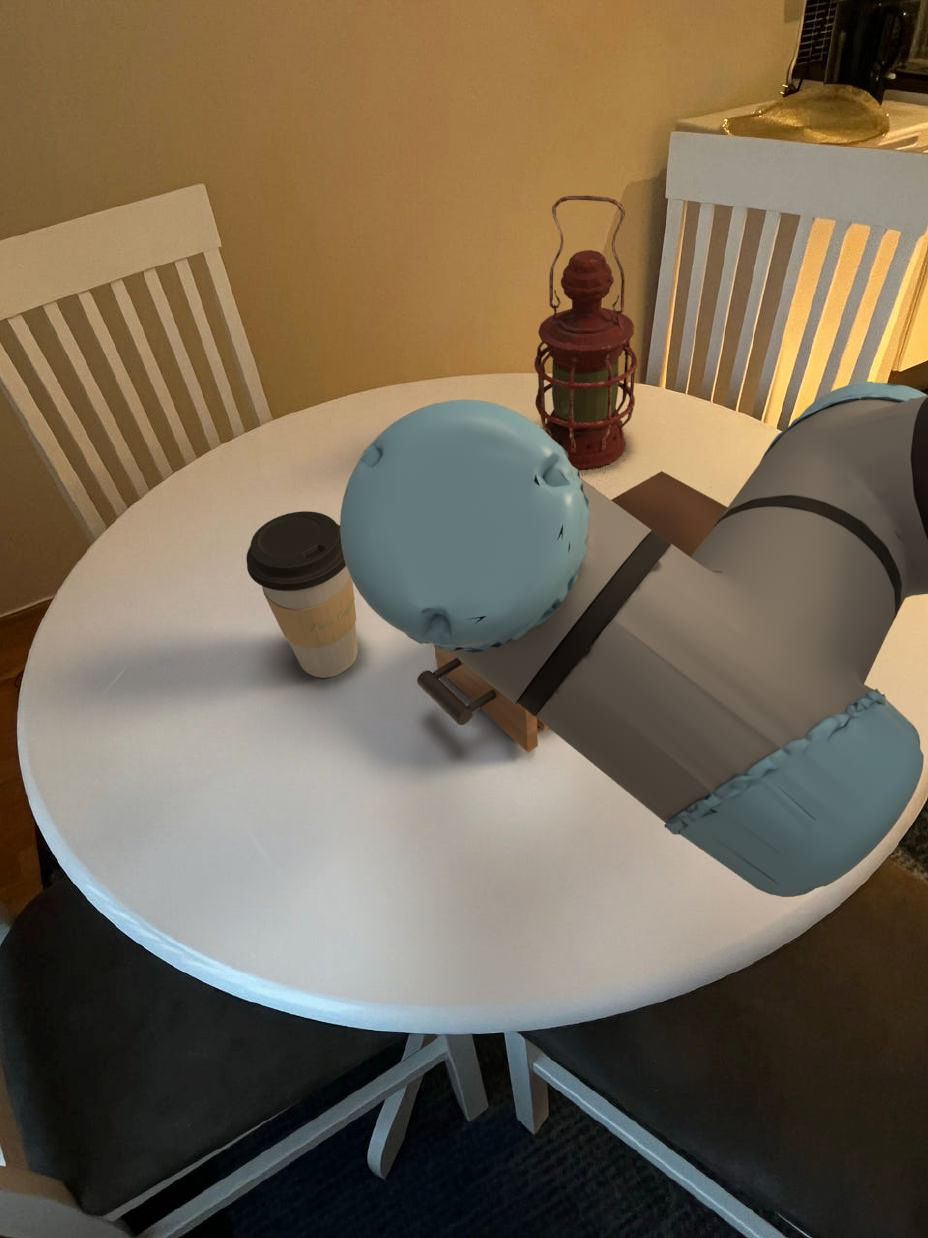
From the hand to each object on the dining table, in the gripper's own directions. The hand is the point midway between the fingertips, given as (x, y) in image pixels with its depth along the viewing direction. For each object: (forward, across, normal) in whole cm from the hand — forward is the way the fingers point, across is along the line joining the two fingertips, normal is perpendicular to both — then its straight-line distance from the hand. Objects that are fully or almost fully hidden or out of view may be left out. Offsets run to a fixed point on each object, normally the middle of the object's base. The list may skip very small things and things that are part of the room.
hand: (541, 587), depth 60 cm
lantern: (+47, +1, +20) cm, 52 cm away
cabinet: (+27, +9, 0) cm, 28 cm away
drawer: (+18, -2, -8) cm, 20 cm away
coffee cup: (+20, -22, -7) cm, 31 cm away
